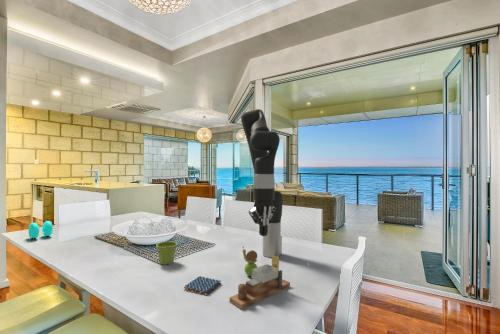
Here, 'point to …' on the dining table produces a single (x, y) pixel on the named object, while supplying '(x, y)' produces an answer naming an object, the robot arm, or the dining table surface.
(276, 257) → the lever
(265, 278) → the grey rough lump
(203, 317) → the dining table surface
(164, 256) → the plant pot
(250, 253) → the green toy figurine
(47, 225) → the turquoise egg pair
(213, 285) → the woven mat
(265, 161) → the robot arm
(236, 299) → the plane body
